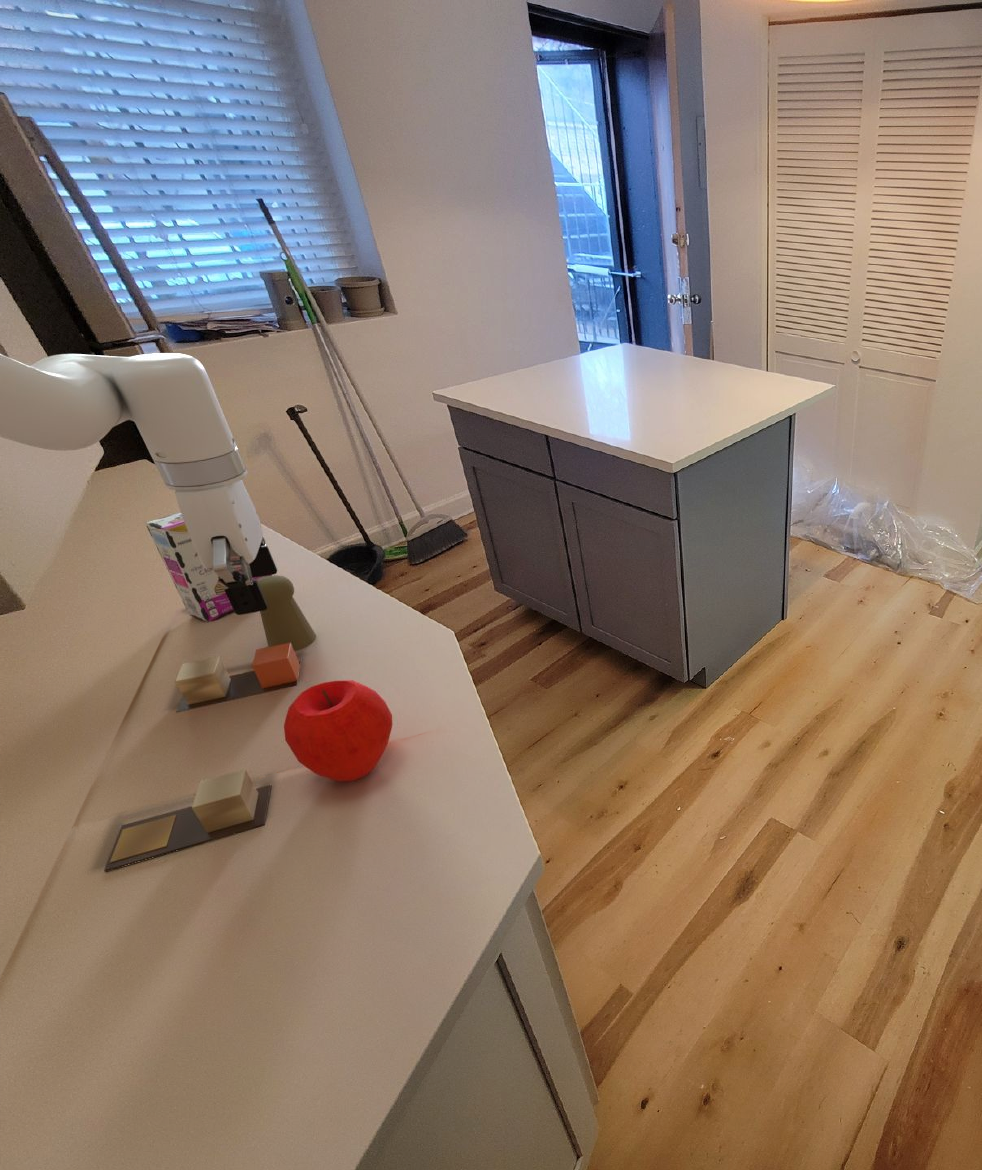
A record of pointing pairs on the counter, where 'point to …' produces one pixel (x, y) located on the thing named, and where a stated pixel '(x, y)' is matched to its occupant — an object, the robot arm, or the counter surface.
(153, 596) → the counter surface
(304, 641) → the olive green shaker
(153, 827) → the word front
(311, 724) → the apple
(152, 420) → the robot arm
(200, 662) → the grey rectangular tray
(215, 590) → the candy bar box
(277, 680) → the orange rounded box
